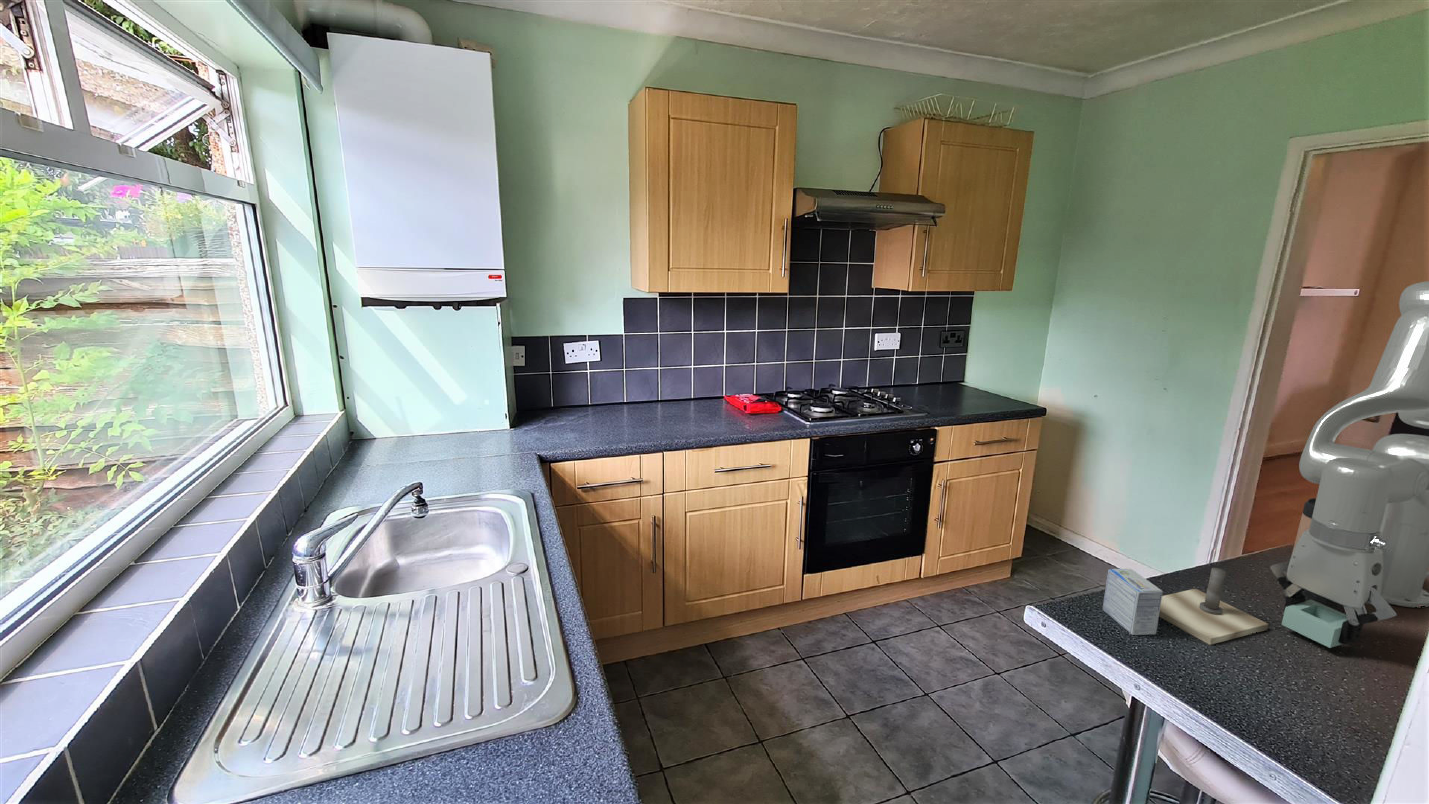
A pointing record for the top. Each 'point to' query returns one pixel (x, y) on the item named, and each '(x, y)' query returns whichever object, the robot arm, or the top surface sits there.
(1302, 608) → the ring
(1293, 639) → the top surface
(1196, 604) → the board
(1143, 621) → the medicine box
